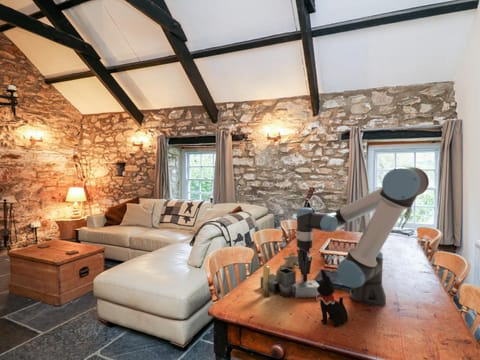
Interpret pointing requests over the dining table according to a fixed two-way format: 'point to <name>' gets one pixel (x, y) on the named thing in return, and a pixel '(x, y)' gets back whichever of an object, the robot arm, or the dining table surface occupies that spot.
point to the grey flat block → (305, 289)
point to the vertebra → (290, 261)
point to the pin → (266, 280)
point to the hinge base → (282, 282)
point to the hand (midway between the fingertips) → (303, 286)
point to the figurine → (330, 302)
